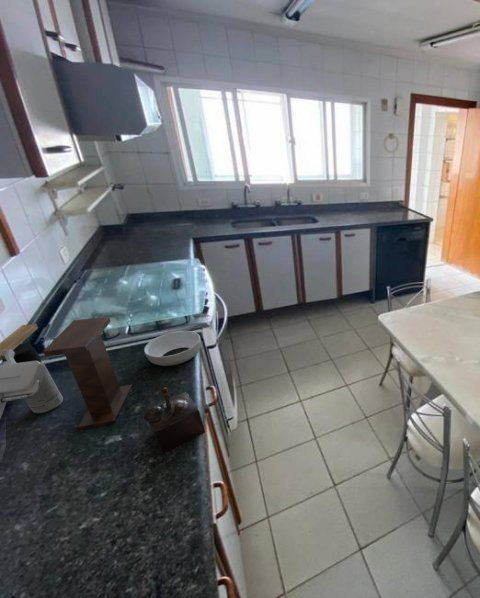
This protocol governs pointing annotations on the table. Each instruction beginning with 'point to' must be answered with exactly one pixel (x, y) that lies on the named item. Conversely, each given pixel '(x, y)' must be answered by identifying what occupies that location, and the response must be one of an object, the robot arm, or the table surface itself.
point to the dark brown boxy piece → (174, 421)
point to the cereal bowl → (173, 347)
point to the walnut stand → (91, 370)
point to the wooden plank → (17, 337)
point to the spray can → (48, 390)
